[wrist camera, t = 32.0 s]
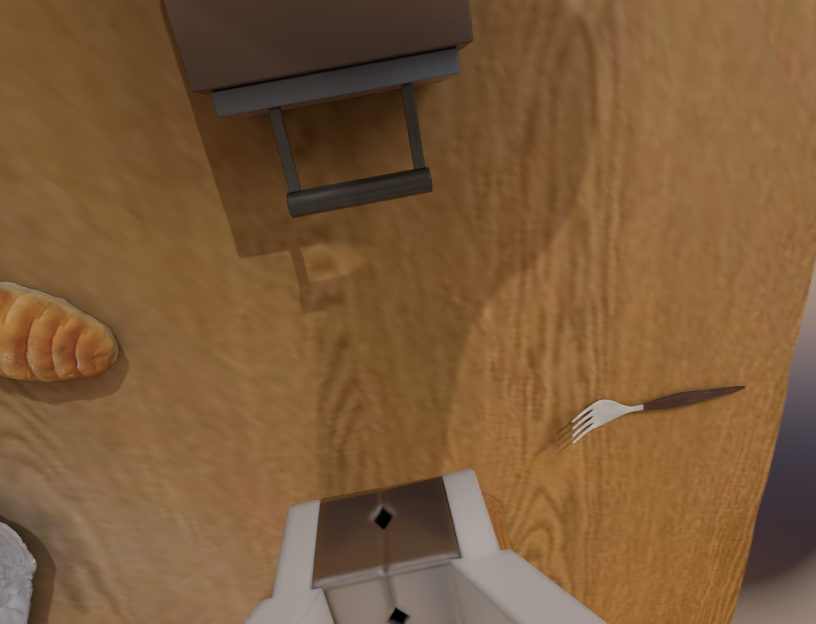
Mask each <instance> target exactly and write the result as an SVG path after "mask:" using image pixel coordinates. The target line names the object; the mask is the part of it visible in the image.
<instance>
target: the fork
mask: <svg viewBox="0 0 816 624" xmlns="http://www.w3.org/2000/svg"><path fill="white" fill-rule="evenodd" d="M742 389H745V386H736V387H726V388H719V389H711V390H701V391H691V392H683V393H678V394H674V395H671V396H667V397H664V398H660V399H657V400H654V401H651V402H647V403H644V404H641V405H637V406H632V407H629V406H624V405H622V404H619V403H617V402H614V401H611V400H599V401H597V402H595V403H594V404H592V405H591V406H589V407H588V408H586V409H585V410H584V411H583V412H581V413H580V414H579V415H578V416H577V417H575V418H574V419H573V420H572V421H571V422H572V423H573V422H574V421H576V420H577V419H578V418H579V417H581V416H582V415H584V414H585V413H586V412H588V411H590V410H592V411H591V412H590V413H589V414H588V415H586V416H585V417H584V418H583V419H581V420H580V421H579V422H578V423H577V424H576V425H575V426H573V427H572V429H575V428H576V427H577V426H578V425H580V424H581V423H582V422H584V421H585V420H586V419H588V418H590V417H591V416H592V418H591V419H590V420H589V421H588V422H586V423H585V424H584V425H583V426H581V427H580V428H579V429H578V430H577V431H576V432H575V433H574V434H573V435H572V436H575V435H576V434H577V433H578V432H580V431H581V430H582V429H584V428H585V427H586V426H588V425H589V424H591V423H592V425H591V426H590V427H589V428H587V429H586V430H585V431H584V432H583V433H581V434H580V435H579V436H578V437H577V438H576V439H575V440H574V441H573V442H572V443H575V442H576V441H577V440H578V439H579V438H581V437H582V436H583V435H585V434H586V433H587V432H589V431H591V430H592V429H594V428H596V427H598V426H601V425H603V424H605V423H607V422H609V421H611V420H613V419H615V418H617V417H619V416H622V415H624V414H626V413H629V412H632V411H638V410H648V409H661V408H672V407H679V406H685V405H689V404H693V403H696V402H700V401H703V400H707V399H710V398H714V397H718V396H722V395H725V394H729V393H733V392H736V391H739V390H742Z"/></svg>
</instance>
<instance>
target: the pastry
mask: <svg viewBox="0 0 816 624" xmlns="http://www.w3.org/2000/svg"><path fill="white" fill-rule="evenodd" d="M117 356H118V345H117V342H116V340H115V337H114V335H113V333H112V332H111V330H110V329H109V328H108V327H107V326H105V325H104V324H103V322H100V321H97V320H96V319H95V318H94V317H93V316H91V315H87V314H85V313H83V312H82V311H80V310H79V309H77V308H76V307H75V306H74V305H73V304H72V303H70V302H68V301H67V300H65V299H63V298H57V297H54V296H52V295H50V294H47V293H43V292H40V291H38V290H35V289H29V288H27V287H23V286H21V285H18V284H15V283H11V282H0V376H2V377H5V378H13V379H17V380H27V381H45V382H51V381H55V380H56V381H65V380H67V379H71V378H84V377H94V376H96V375H98V374H99V373H101V372H102V371H104V370H105V369H106V368H107V367H109V366H111V365H113V364H114V363H115V362H116V360H117Z"/></svg>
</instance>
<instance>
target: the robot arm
mask: <svg viewBox="0 0 816 624" xmlns="http://www.w3.org/2000/svg"><path fill="white" fill-rule="evenodd" d="M243 624H608V623H606V622H605V621H604V620H602V619H601V618H600V617H598V616H597V615H596V614H595V613H593V612H592V611H591V610H589V609H588V608H587V607H586V606H584V605H583V604H582V603H580V602H579V601H578V600H576V599H575V598H574V597H573V596H571V595H570V594H569V593H567V592H566V591H565V590H563V589H562V588H561V587H560V586H558V585H557V584H556V583H554V582H553V581H552V580H551V579H549V578H548V577H547V576H545V575H544V574H543V573H541V572H540V571H539V570H538V569H536V568H535V567H534V566H532V565H531V564H530V563H529V562H527V561H526V560H525V559H523V558H522V557H521V556H519V555H518V554H517V553H516V552H514V551H513V550H512V549H505V550H500V547H499V544H498V541H497V538H496V535H495V532H494V529H493V526H492V523H491V520H490V517H489V514H488V511H487V508H486V505H485V502H484V499H483V496H482V493H481V490H480V487H479V484H478V481H477V478H476V475H475V472H474V471H473V470H472V469H471V468H469V469H464V470H460V471H455V472H451V473H446V474H442V477H441V475H439V476H435V477H430V478H425V479H420V480H416V481H411V482H406V483H401V484H397V485H392V486H387V487H383V488H378V489H372V490H366V491H361V492H355V493H350V494H344V495H338V496H333V497H327V498H323V499H320V500H314V501H308V502H303V503H297V504H292V505H291V507H290V509H289V510H288V512H287V516H286V522H285V527H284V533H283V538H282V544H281V549H280V554H279V560H278V565H277V571H276V576H275V581H274V587H273V592H272V598H269V599H264V600H261V601H260V602H259V604H258V605H257V606H256V608H255V609H254V610H253V611H252V613H251V614H250V615H249V616H248V618H247V619H246V620H245V621H244V623H243Z"/></svg>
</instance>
